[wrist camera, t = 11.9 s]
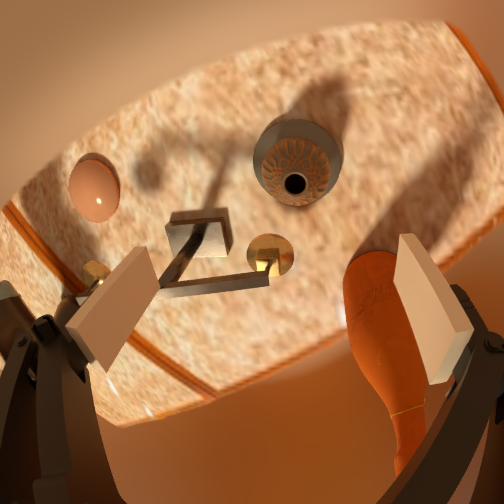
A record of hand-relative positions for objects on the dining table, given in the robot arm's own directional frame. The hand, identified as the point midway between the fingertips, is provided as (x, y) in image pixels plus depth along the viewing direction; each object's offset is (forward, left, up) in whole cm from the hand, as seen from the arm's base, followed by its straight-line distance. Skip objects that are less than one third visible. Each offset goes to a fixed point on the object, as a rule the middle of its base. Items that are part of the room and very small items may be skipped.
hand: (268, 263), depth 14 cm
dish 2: (+1, +1, -21) cm, 21 cm away
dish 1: (-29, +1, -21) cm, 36 cm away
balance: (-13, -8, -21) cm, 26 cm away
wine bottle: (+11, -16, -21) cm, 29 cm away
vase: (+1, +1, -20) cm, 20 cm away
